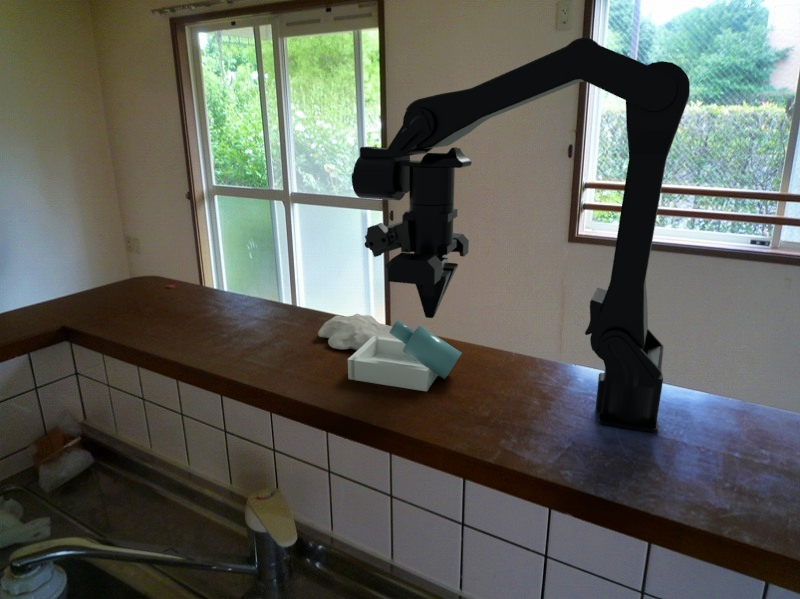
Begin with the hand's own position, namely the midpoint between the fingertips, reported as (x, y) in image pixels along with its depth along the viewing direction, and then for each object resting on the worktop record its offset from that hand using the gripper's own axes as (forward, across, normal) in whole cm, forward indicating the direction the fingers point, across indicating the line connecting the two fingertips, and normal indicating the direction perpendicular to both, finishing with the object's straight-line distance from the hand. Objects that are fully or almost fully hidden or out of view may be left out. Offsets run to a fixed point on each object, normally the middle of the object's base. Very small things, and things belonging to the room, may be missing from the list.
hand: (429, 317), depth 76 cm
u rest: (+9, 0, -4) cm, 10 cm away
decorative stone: (+9, -9, -14) cm, 19 cm away
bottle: (+7, 0, +4) cm, 8 cm away
